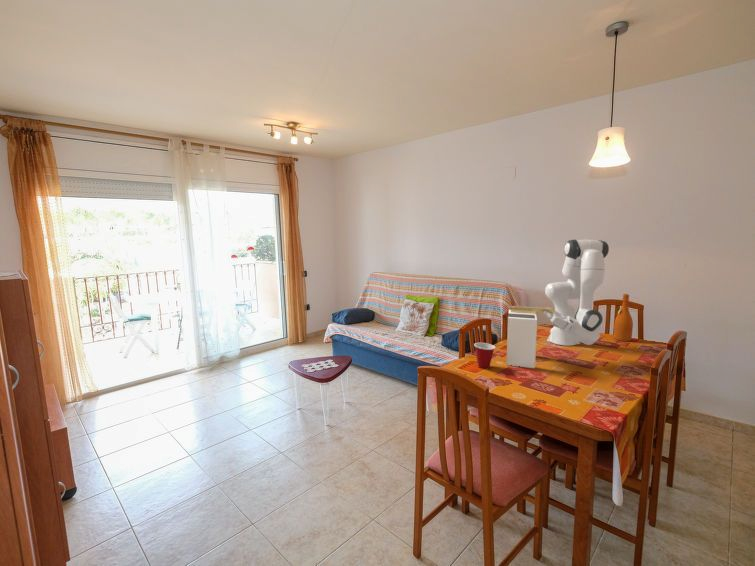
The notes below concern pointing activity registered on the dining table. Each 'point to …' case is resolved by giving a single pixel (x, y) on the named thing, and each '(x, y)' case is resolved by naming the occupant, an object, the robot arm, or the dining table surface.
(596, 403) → the dining table surface
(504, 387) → the dining table surface
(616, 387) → the dining table surface
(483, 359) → the plastic cup
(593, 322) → the robot arm
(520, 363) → the white upright block
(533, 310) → the light wood bar
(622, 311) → the wine bottle
